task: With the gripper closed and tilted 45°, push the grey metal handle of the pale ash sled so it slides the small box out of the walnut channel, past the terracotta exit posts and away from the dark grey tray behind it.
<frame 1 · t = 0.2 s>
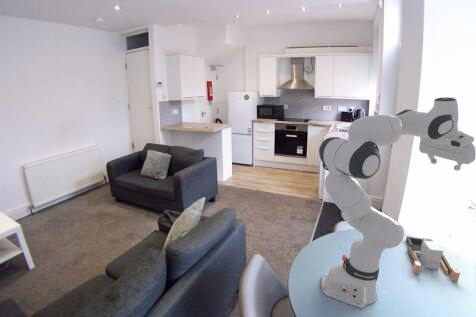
hand: (445, 166, 116), 52 cm above the table, tool tilted 20°, fingers open, 8 cm apart
dark grey tray: (420, 247, 149), on the table
small box: (428, 264, 136), on the table
ash sled: (429, 254, 136), point 5 cm above the table, slide at 0.0 cm
exit posts: (434, 275, 128), on the table
walnut channel: (427, 262, 137), on the table
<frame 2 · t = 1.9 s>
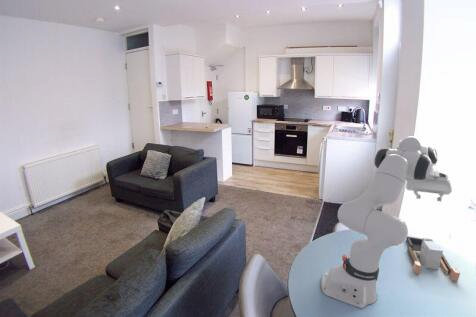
hand: (428, 199, 145), 26 cm above the table, tool tilted 45°, fingers open, 8 cm apart
nothing on the table moved.
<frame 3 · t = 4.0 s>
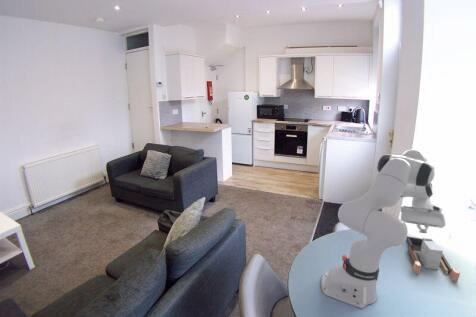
hand: (423, 232, 147), 9 cm above the table, tool tilted 45°, fingers closed
nothing on the table moved.
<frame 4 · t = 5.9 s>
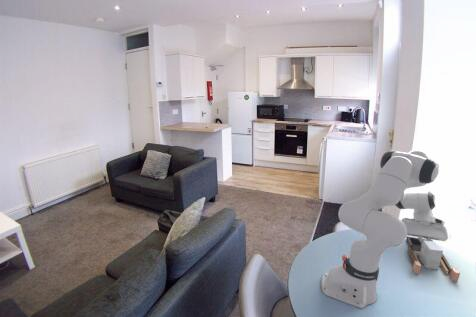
hand: (424, 246, 142), 5 cm above the table, tool tilted 45°, fingers closed, pressing on ash sled
ash sled: (430, 254, 135), point 5 cm above the table, slide at 0.4 cm, touching gripper
everything else where it was.
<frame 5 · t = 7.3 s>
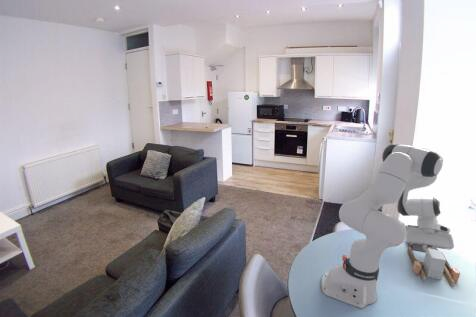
hand: (429, 255, 135), 5 cm above the table, tool tilted 45°, fingers closed, pressing on ash sled
small box: (431, 273, 130), on the table, touching ash sled
ash sled: (435, 264, 128), point 5 cm above the table, slide at 8.2 cm, touching gripper, small box
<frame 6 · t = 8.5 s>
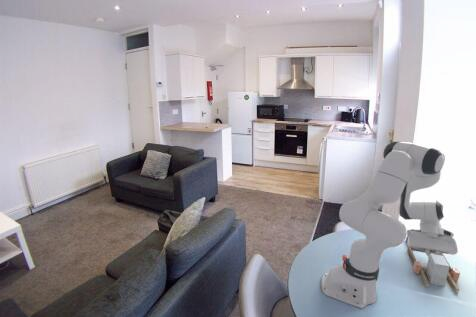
hand: (432, 260, 131), 5 cm above the table, tool tilted 45°, fingers closed, pressing on ash sled
small box: (434, 279, 126), on the table, touching ash sled
ash sled: (438, 270, 124), point 5 cm above the table, slide at 12.5 cm, touching gripper, small box
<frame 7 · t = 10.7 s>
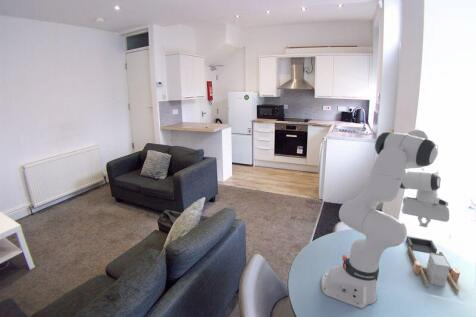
hand: (423, 226, 139), 16 cm above the table, tool tilted 30°, fingers closed
small box: (434, 279, 126), on the table
ash sled: (438, 271, 124), point 5 cm above the table, slide at 12.7 cm
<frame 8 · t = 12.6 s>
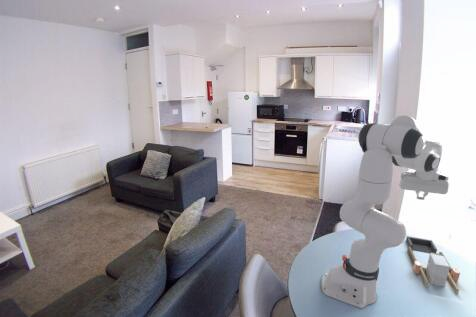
hand: (420, 199, 139), 29 cm above the table, tool pointing down, fingers closed
nothing on the table moved.
at the end: small box inside the target area (0.9 cm from its centre), on the table; small box tilted 0°; ash sled slide at 12.7 cm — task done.
